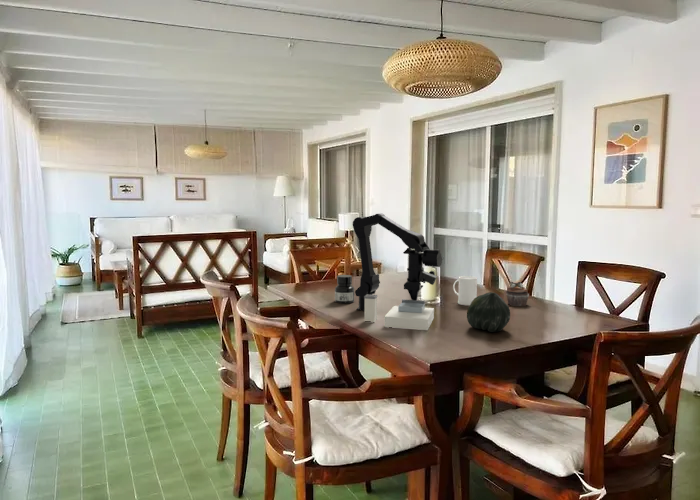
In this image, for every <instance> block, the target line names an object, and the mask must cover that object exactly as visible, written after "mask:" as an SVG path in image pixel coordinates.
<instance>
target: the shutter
mask: <svg viewBox="0 0 700 500" xmlns="http://www.w3.org/2000/svg"><path fill="white" fill-rule="evenodd" d="M397 306H398V311H401V312H416V313H422V312H423V310H424V308H426V301H425V300H422V299H417V300H412V299H401V303H399V305H397Z"/></svg>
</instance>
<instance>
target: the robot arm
mask: <svg viewBox="0 0 700 500" xmlns="http://www.w3.org/2000/svg"><path fill="white" fill-rule="evenodd" d="M375 225H376V226H377V225H379V226H381V227H382V228H384V229H386V230H388V232H390V233H392V234H393V235H395V236H397V237H398V238H399V239H400V240H401V241H402V242H403V244H404V245H406V246H407V248H406V249H404V251H402V252H403V253H402V254H404V255H407V256H408V257H407V258H408V259H407V261H408V262H407V265H408V266H407V270H406V271H407V278H406V282H404V284H403V290H407V292H408V294H409V297H410V298H411V299H410V300H418V297H419V292H420V290H422V289H423V287H424V285H423V284H426V283H429V285H432V286H433V285H434V284H435V282H436V280H437V277H438V276H437V275H436V273H435V271H433V270H430V271H425V268H424V267H423V265H424V266H425V267H432V268H433V267H434V268H435V267H436V268H440V267H441V266H442V263H443V257H442V253H441V250H440V249H430V247H429V246H428V244H427V242H426V241H425V236H424V235H422V234H421V233H419V232H416V231H413V230H410V229H407V228H405V227H404V226H402V225H400V223H397V222H396V221H394V219H393V220H392V219H391V218H390V217H388V216H386V214H384V213H381V212H380V213H375V214H373V215H370V216H358V217H355V218H354V220H353V221H352V228H353V231H354V234H355V235H356V237H357V239H358V244H359V245H358V246H359V247H358V248H359V254H360V263H361V269H362V270H361V271H362V273H361V276H360V279H359V280H360V281H359V283H360V284H359V287H358V288H357V289H355V290H354V295H355V296H356V297H358V307H357V308H356V311H365V299H364V296H366V295H367V294H369V295H376V292H377V290H378V289H379V288H380V284H381V281H380V274H379V273H376V272H375V269H374V263H373V256H372V248H371V238H370V237H371V234H372V230H373V226H375Z"/></svg>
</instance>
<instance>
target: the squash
mask: <svg viewBox="0 0 700 500" xmlns="http://www.w3.org/2000/svg"><path fill="white" fill-rule="evenodd" d="M510 319H511V309H510V308H509V304H508V303H506V302H505V300H504V299H503V298H502V297H501V296H500V295H499V294H498V293H496V292H494V291H491V292H486V293H483V294H479V295H478V296H477V297H476V298H475V299H474V300H473V301H472V302H471V304H470V305H468V308H467V310H466V320H467V322H468V324H469V326H471V327H472V328H474V329H478V330H481V329H482V330H483V331H486V330H487V331H488V332H490V333H494V332H495V333H497V332H501V331H502V330H503V329H504V328H505V327H506V326H507V325H508V323H509V322H510Z"/></svg>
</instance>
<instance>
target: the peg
mask: <svg viewBox="0 0 700 500" xmlns="http://www.w3.org/2000/svg"><path fill="white" fill-rule="evenodd" d="M364 299H365V310H364V322H365V321H371V322H370V323H373V322H375V321H376V320H377V321H378V294H372V295H369V294H367V295H366V296H364ZM377 321H376V322H377ZM376 322H375V323H376Z"/></svg>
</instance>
